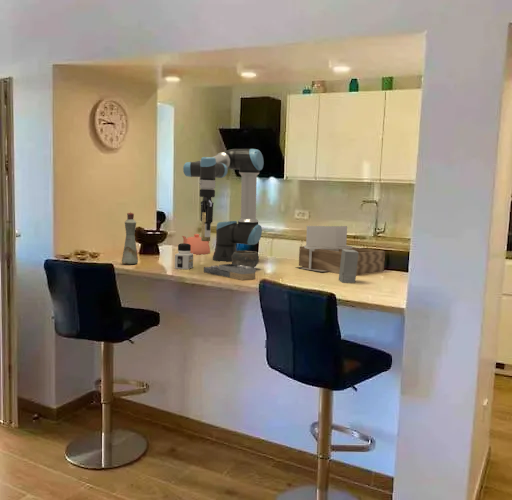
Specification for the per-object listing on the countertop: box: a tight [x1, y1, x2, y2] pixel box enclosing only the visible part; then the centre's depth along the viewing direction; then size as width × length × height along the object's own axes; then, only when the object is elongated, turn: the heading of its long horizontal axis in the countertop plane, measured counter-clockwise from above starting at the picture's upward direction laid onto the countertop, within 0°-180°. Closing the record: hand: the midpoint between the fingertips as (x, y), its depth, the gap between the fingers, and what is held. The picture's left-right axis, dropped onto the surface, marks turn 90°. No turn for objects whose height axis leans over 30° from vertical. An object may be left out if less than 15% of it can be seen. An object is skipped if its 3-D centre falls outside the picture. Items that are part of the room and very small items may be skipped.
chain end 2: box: [218, 263, 256, 281], centre depth 278 cm, size 8×18×6 cm, turn 43°
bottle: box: [121, 211, 139, 265], centre depth 310 cm, size 9×9×28 cm
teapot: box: [181, 233, 211, 256], centre depth 362 cm, size 25×17×13 cm
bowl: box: [231, 250, 260, 268], centre depth 302 cm, size 14×15×10 cm
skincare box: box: [338, 249, 358, 284], centre depth 273 cm, size 8×7×16 cm
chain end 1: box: [203, 265, 231, 279], centre depth 286 cm, size 8×20×3 cm, turn 43°
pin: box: [200, 212, 211, 242], centre depth 283 cm, size 4×4×14 cm
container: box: [174, 242, 194, 270], centre depth 301 cm, size 8×8×13 cm
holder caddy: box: [298, 245, 386, 276], centre depth 317 cm, size 29×36×12 cm
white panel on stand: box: [295, 225, 353, 273], centre depth 317 cm, size 28×21×23 cm
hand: (205, 236), depth 283 cm, fingers closed on pin, 4 cm apart
